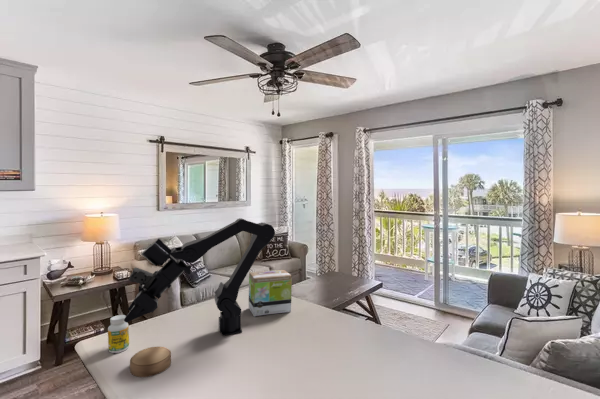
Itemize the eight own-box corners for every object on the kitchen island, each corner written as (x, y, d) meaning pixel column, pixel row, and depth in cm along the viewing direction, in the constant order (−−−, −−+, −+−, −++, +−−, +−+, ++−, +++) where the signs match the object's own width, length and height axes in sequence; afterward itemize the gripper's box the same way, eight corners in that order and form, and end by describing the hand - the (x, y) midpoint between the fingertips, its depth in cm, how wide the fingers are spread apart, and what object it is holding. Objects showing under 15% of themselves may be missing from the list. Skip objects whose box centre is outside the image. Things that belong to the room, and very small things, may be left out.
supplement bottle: (128, 343, 98) (127, 312, 98) (130, 350, 94) (129, 318, 94) (107, 347, 95) (107, 316, 95) (108, 355, 91) (108, 322, 91)
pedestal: (170, 353, 92) (170, 343, 92) (171, 371, 83) (171, 360, 83) (131, 360, 88) (131, 350, 88) (128, 380, 79) (128, 368, 79)
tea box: (254, 317, 118) (253, 278, 118) (248, 308, 127) (248, 271, 127) (292, 312, 124) (292, 274, 123) (283, 303, 133) (283, 268, 132)
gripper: (148, 253, 106) (110, 289, 102) (144, 265, 88) (98, 310, 84) (174, 274, 109) (138, 310, 105) (174, 290, 91) (131, 334, 88)
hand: (127, 315), depth 95 cm, fingers open, 9 cm apart
